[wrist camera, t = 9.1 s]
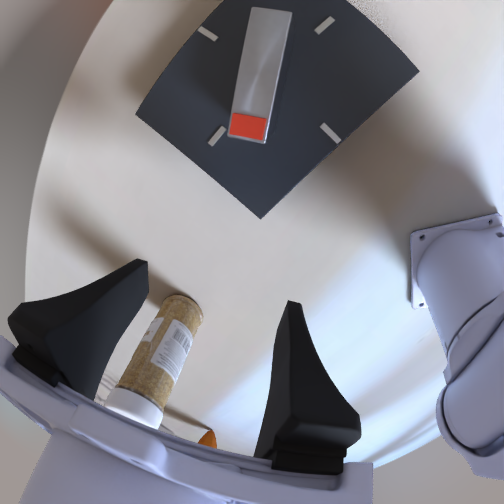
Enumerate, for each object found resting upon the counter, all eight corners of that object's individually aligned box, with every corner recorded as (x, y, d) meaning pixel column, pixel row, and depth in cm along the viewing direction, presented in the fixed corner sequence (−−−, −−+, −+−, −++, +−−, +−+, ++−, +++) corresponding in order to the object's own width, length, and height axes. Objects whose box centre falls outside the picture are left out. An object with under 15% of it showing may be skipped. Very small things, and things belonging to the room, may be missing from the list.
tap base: (280, -28, 11) (275, -47, 9) (403, 74, 14) (421, 71, 11) (155, 110, 18) (133, 114, 16) (266, 203, 21) (260, 220, 18)
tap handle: (263, 25, 12) (250, 4, 8) (295, 30, 12) (292, 10, 8) (243, 128, 15) (224, 137, 12) (273, 134, 15) (264, 145, 12)
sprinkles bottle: (158, 291, 28) (91, 399, 16) (199, 294, 27) (140, 416, 15) (170, 324, 30) (118, 426, 19) (209, 328, 29) (164, 441, 18)
